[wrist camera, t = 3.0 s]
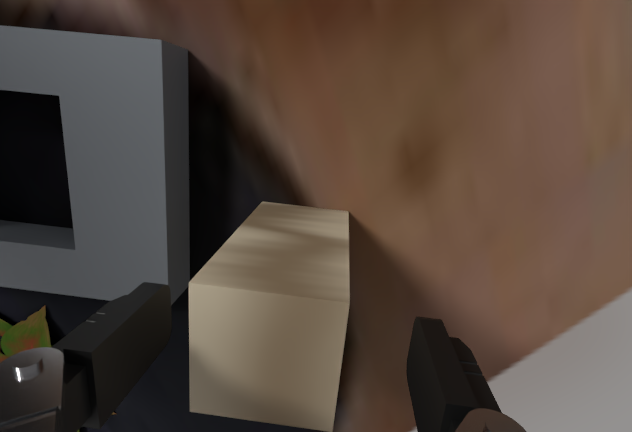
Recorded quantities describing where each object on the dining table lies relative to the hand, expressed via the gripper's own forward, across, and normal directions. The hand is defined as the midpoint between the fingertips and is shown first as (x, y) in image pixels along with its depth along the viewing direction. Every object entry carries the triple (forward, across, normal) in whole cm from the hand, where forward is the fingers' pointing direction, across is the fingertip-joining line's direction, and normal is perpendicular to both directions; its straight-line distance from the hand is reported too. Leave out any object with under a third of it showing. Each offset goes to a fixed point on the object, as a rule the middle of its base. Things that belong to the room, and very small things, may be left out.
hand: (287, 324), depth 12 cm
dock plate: (+7, +14, -3) cm, 16 cm away
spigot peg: (+8, 0, 0) cm, 8 cm away
